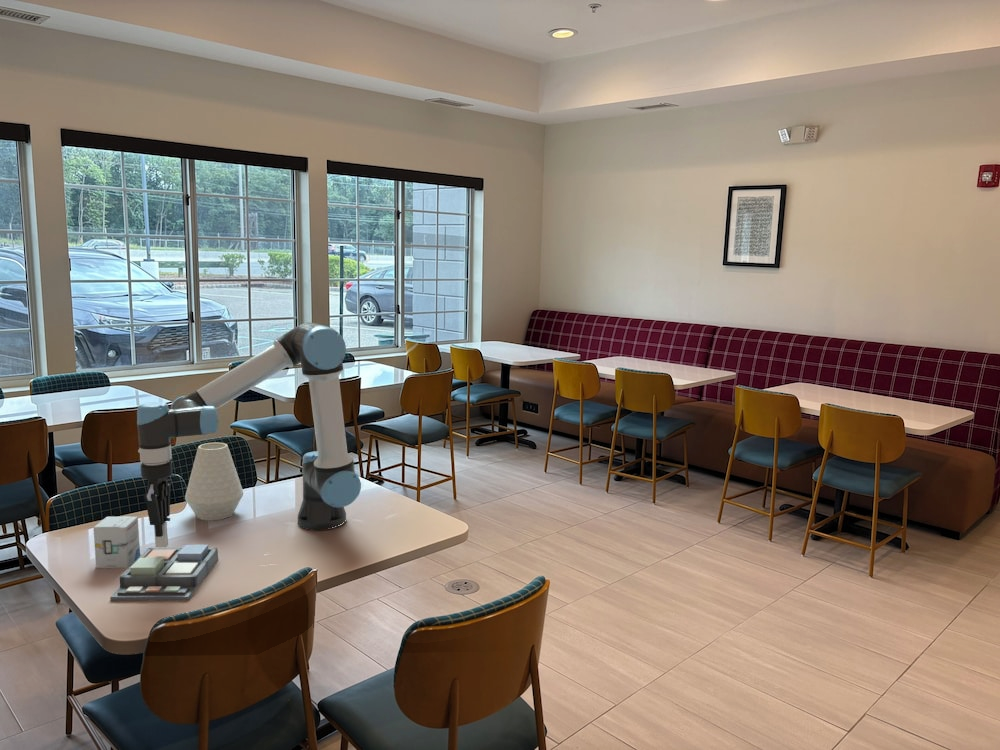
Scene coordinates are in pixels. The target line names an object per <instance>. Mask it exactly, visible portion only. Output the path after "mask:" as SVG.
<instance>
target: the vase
mask: <svg viewBox="0 0 1000 750" xmlns="http://www.w3.org/2000/svg"><path fill="white" fill-rule="evenodd" d="M238 475H239V474H238V472H237V469H236V467H235V463H234V460H233V458H232V454H231V451H230V449H229V446H228V444H227V443H225V442H208V443H206V442H205V443H202V444H200V445H198V447H197V450H196V454H195V458H194V461H193V465H192V468H191V473H190V477H189V481H188V485H187V488H186V492H185V494H184V495H185V496H184V499H185V501H186V503H187V505H188V506H189V507H190V509H191V510H192V512H193V513H194V514H195V517H196V518H197V519H198V520H201V521H207V522H208V521H209V522H213V521H212V520H216V521H221V520H220V519H222V520H225V519H224V518H226V519H228V518H230V517H232V516H233V515H234V513H235V511H236V509H237V508H238V506H239V503H240V502H241V500H242V499H243V496H244V490H243V487H242V485H241V480H240V478H239V476H238ZM231 515H232V516H231ZM229 516H230V517H229ZM227 517H228V518H227Z"/></svg>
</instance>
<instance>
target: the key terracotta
mask: <svg viewBox="0 0 1000 750" xmlns="http://www.w3.org/2000/svg"><path fill="white" fill-rule="evenodd" d="M175 554H176V550H152V551H151V552H150V553H149V554H148V555H147V556H146V557H145V558H164V561H170V560H171V559H172V557H173V556H174V555H175Z"/></svg>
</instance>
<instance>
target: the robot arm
mask: <svg viewBox="0 0 1000 750" xmlns="http://www.w3.org/2000/svg"><path fill="white" fill-rule="evenodd" d="M346 353H347V347H346V342H345V339H344V337H343V336H342V335H341V334H340V333H339V332H338V330H335V329H334V328H333V327H331V326H328V325H322V324H319V323H316V322H306V323H305V322H304V323H301V324H300V325H297V326H295V327H294V328H292V329H291V330H289V331H288V332H286V333H284V334H283V335H281V336H279V337H278V338H276V339H274V340H273V344H272V345H270V346H269V347H267V348H265V349H264V350H262V351H261V352H259V353H257V354H256V355H254V356H252V357H251V358H249V359H247V360H246V361H244V362H242V363H241V364H238V365H237V366H235V367H234V368H232V369H231V370H229V371H226V372H225V373H224V374H222V375H221V376H219V377H217V378H215V379H213V380H212V381H210V382H208V383H207V384H205V385H203V386H202V387H200V388H199V389H196V390H195V391H193V392H191V393H189V394H188V395H183V396H179V397H177V398H176V399H174V400H173V401H172V403H171V405H170V408H169V404H168V403H167V402H163V401H158V402H156V401H153V402H152V401H151V402H146V403H141V404H140V405H139V406H138V407H137V409H136V420H137V421H136V425H137V435H138V436H137V438H138V450H137V453H139V461H140V466H139V467H140V476H141V478H142V479H145V480H146V481H147V485H146V489H147V493H144V495H143V499H144V501H145V504H146V510H147V515H148V521H149V526H153V527H154V530H153V531H154V542H155V543H154V544H155V548H168V546H169V538H168V537H169V536H168V522H170V521H171V517H170V514H171V513H170V512H171V486H172V479H168V477H170V476H172V474H173V461H172V458H173V455H172V444H171V439H172V438H181V437H183V438H184V437H192V436H193V437H194V436H201V435H203V436H205V435H209V434H214V433H216V432H218V429H219V423H220V422H219V413H218V409H219V408H221V407H223V406H225V405H226V404H227V403H229V402H231V401H232V400H235V399H236V398H238V397H239V396H241V395H243V394H244V393H246V392H247V391H249V390H251V389H252V388H254V387H256V386H258V385H260V384H261V383H263V382H264V381H266V380H267V379H269V378H271V377H272V376H274V375H276V374H277V373H279V372H281V371H282V370H284V369H286V368H294V367H296V366H297V365H299V364H300V365H301V373H302V375H303V376H304V377H305V378H307V380H308V385H309V394H310V400H311V401H310V402H311V410H312V418H313V425H314V426H313V428H314V433H315V434H314V435H315V441H316V442H315V443H316V451H315V450H314V451H309V452H306V453H304V455H302V463H301V465H302V502H301V505H300V507H299V510H298V513H297V525H298V524H299V525H300V526H302V527H304V528H303V529H305V528H308V529H307V530H310V529H315V530H314V531H321V530H320V529H327V530H329V529H328V528H332V527H335V526H338V525H340V524H342V523H343V522H345V520H346V521H347V512H346V510H345V507H347V506H349V505H351V504H352V503H353V502H355V501H356V499H358V497H359V496H360V493H361V491H362V490H361V489H362V481H361V479H360V477H359V475H358V474H357V473H356V471H355V463H354V462H355V461H354V456H352V455H351V454H349V453H348V447H347V437H346V427H345V421H344V411H343V402H342V392H341V386H340V385H341V384H340V374H341V373H342V372H343V371H344V365H343V363H344V362H343V361H344V359H345V357H346ZM345 523H346V522H345ZM299 525H298V526H299ZM300 526H299V527H300ZM302 527H301V528H302Z"/></svg>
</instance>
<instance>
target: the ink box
mask: <svg viewBox="0 0 1000 750" xmlns="http://www.w3.org/2000/svg"><path fill="white" fill-rule="evenodd" d="M139 531H140V530H139V517H138V516H137V515H135V516H130V515H128V516H121V515H120V516H106V517H105V518H103V519H102V520H101V521H99V522H98V523H97V524H96V525H95V526H93V541H94V554H95V555H94V556H95V568H96V569H128V568H129V567H130V566H131V565H132V564H133V563H134V562H135V561H136V560H137V559H138V558H139V557H140V556H141V549H140V548H141V547H140V546H141V545H140V533H139Z"/></svg>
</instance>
